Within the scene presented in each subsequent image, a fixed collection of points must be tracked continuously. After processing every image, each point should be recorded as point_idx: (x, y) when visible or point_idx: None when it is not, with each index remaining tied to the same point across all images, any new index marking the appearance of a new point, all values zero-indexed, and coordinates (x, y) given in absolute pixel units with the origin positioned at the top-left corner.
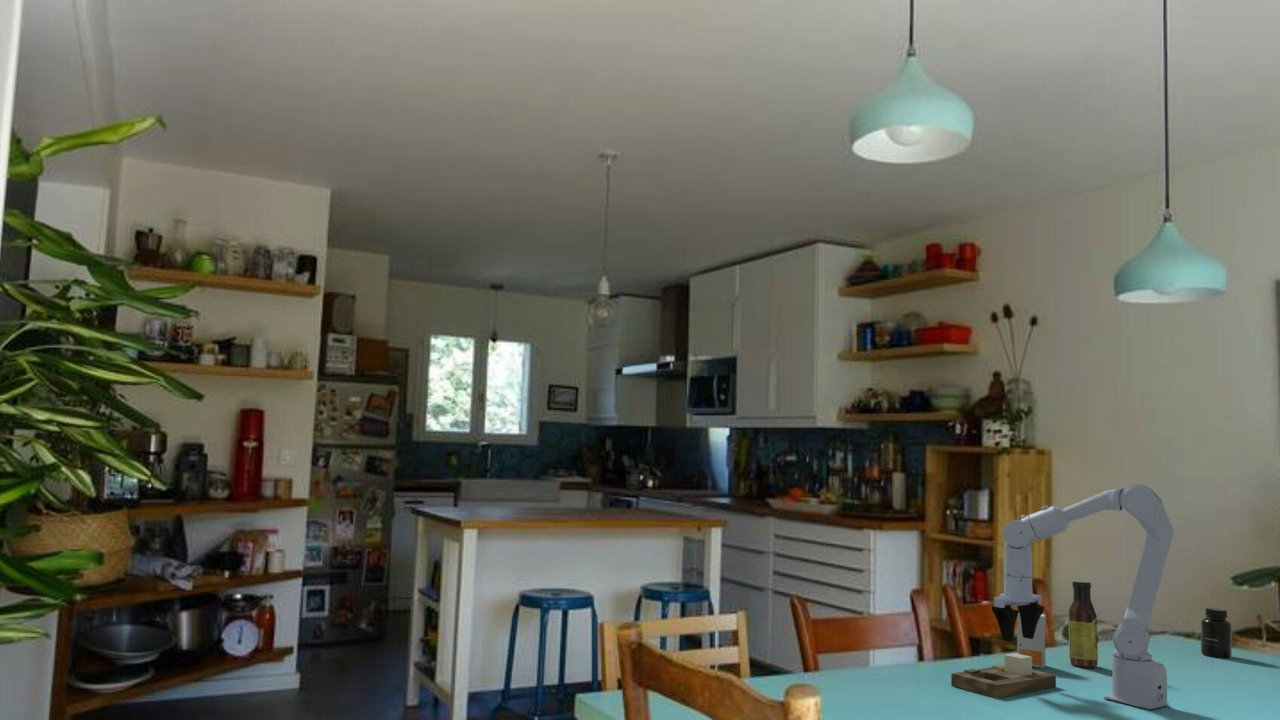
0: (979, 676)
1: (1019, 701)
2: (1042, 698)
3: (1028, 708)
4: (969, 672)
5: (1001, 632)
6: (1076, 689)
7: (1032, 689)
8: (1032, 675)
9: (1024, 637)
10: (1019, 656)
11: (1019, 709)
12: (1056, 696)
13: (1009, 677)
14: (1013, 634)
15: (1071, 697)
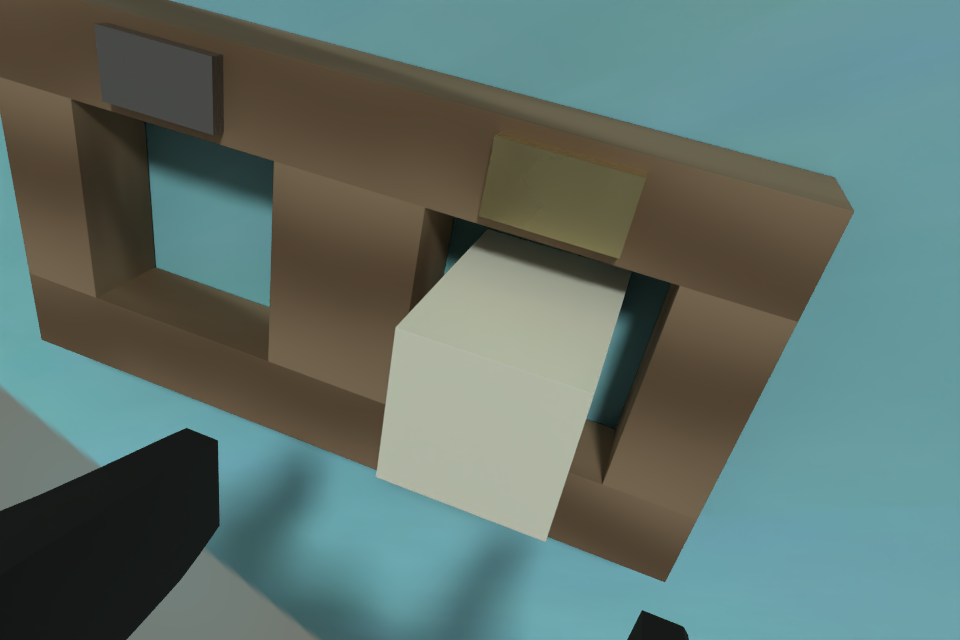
0: None
1: (155, 402)
2: (311, 479)
3: (96, 450)
4: (106, 80)
5: (90, 481)
6: (710, 613)
7: None
8: None
9: (634, 626)
10: (449, 453)
11: (48, 424)
12: (419, 530)
13: (277, 347)
14: (144, 604)
15: (467, 587)
